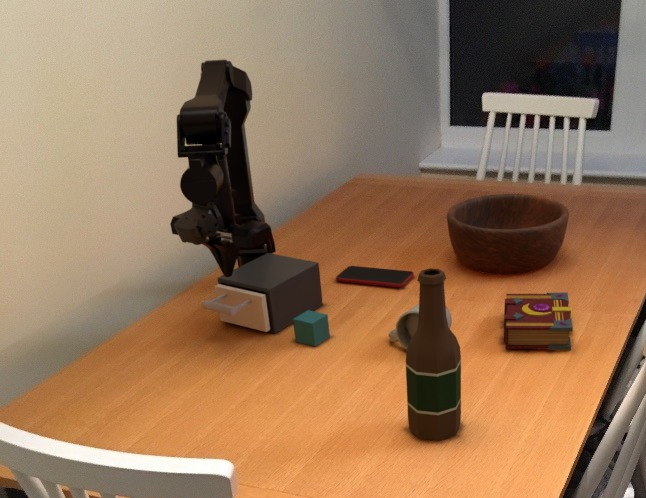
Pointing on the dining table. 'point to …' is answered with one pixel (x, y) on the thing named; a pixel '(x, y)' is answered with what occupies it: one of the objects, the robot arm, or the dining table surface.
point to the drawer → (240, 306)
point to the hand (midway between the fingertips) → (228, 276)
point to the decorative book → (537, 321)
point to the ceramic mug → (410, 326)
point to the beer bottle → (433, 365)
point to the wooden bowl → (507, 232)
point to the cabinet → (281, 286)
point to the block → (311, 328)
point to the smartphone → (375, 276)
